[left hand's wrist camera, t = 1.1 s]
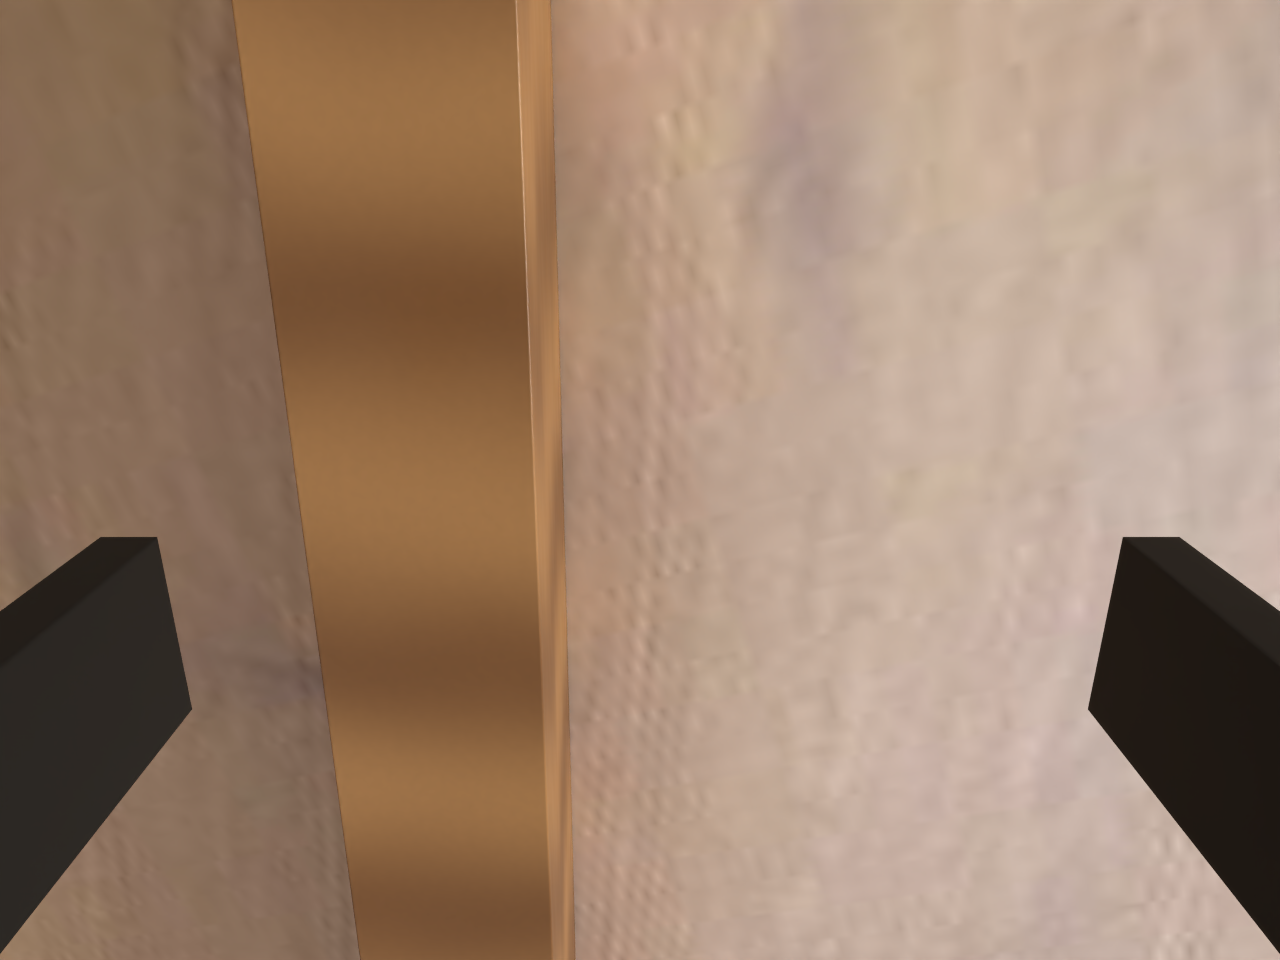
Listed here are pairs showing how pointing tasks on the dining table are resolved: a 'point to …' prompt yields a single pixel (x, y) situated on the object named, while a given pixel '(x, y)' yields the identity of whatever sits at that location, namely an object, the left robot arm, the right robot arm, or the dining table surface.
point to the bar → (426, 448)
